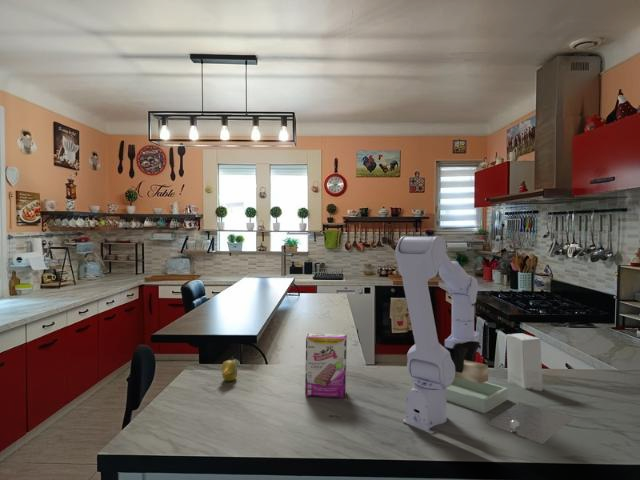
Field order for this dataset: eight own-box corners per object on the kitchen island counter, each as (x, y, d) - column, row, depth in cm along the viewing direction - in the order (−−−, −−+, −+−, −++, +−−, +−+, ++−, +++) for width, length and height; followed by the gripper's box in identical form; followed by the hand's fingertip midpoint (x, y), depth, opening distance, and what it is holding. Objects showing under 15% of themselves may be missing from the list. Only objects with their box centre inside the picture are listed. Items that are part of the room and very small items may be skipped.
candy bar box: (304, 397, 107) (305, 336, 107) (307, 390, 112) (307, 332, 112) (346, 399, 106) (346, 338, 106) (346, 391, 111) (346, 333, 111)
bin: (484, 417, 96) (484, 400, 96) (419, 394, 110) (419, 379, 110) (507, 403, 104) (507, 388, 104) (444, 383, 118) (444, 370, 118)
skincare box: (543, 391, 112) (543, 339, 112) (523, 392, 111) (523, 339, 111) (523, 381, 120) (524, 332, 120) (505, 381, 120) (505, 332, 119)
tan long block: (439, 372, 110) (438, 358, 110) (447, 369, 112) (446, 355, 113) (480, 384, 101) (480, 368, 101) (488, 380, 103) (488, 364, 103)
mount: (542, 449, 81) (542, 431, 81) (485, 427, 90) (485, 412, 90) (572, 422, 93) (572, 407, 93) (519, 406, 102) (519, 392, 102)
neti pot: (216, 389, 112) (216, 366, 112) (228, 372, 127) (228, 351, 127) (232, 389, 112) (232, 366, 112) (241, 372, 127) (241, 351, 127)
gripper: (462, 325, 99) (462, 380, 99) (490, 318, 108) (489, 367, 108) (437, 321, 104) (437, 372, 104) (466, 314, 114) (465, 361, 114)
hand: (462, 369), depth 107 cm, fingers closed on tan long block, 4 cm apart
